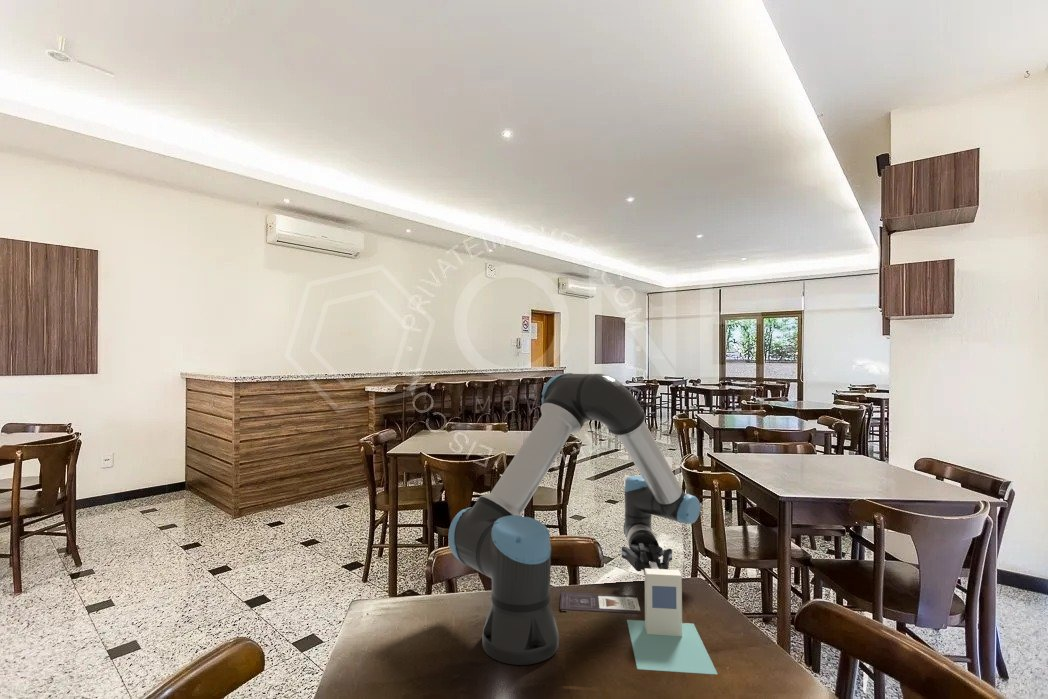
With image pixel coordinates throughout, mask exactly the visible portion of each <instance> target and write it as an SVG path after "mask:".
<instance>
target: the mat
mask: <svg viewBox="0 0 1048 699" xmlns="http://www.w3.org/2000/svg"><path fill="white" fill-rule="evenodd" d="M626 622H627V628H628V632H629V636H630V641H631V646H632V651H633V655H634V659H635V664H636V669H637V670H639V671H640V670H642V671H644V670H645V671H658V672H671V673H672V672H673V673H686V674H687V673H689V674H701V675H715V676H716V675H719V674H718V671H717V670H716V668H715V666H714V663H713V661H712V659H711V657H710V654H709V653H708V651H707V649H706V647H705V645H704V643H703V640H702V639H701V636H700V634H699V632H698V630H697V628H696V626H695V623H693V622H692V623H689V622H687V623H686V622H682V636H671V635H654V634H647V632H646V629H645V620H638V619H626Z"/></svg>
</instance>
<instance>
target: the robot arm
mask: <svg viewBox="0 0 1048 699" xmlns="http://www.w3.org/2000/svg"><path fill="white" fill-rule="evenodd" d="M630 391H631V390H629V389H628V388H627V387H626V386H625V385H624V384H622V383H621V382H620V381H618V380H617V379H616V378H614V377H612V376H609V375H608V374H603V373H572V372H571V373H570V372H568V373H562V374H557V375H554V376H552V377H551V378H550V379H549V380H548V381H546V383H545V384H544V386H543V389H542V392H541V395H542V397H541V405H540V413H541V416H540V418H539V419H538V421H537V422H536V424H535V425H534V426H533V428H532V430H531V431H530V433H529V434H528V436H527V438H526V439H525V440H524V441H523V444H522V445H521V446H520V447H519V449H518V450H517V451H516V454H515V455H514V456H513V458H512V460H511V461H510V463H509V464H508V466H507V467H506V469H505V470H504V472H503V473H502V475H501V476H500V478H499V479H498V481H497V482H496V483H495V485H494V487H493V488H492V490H491V491H490V493H488V494H483V495H479V498H478V499H477V500H476V502H475V503H474V505H473V506H472V507H467V508H465V509H461V510H460V511H458V512H457V514H455V516H454V517H453V518H452V520H451V522H450V526H449V527H448V528H449V529H448V537H447V538H448V547H449V549H450V552H451V553H452V555H453V556H454V557H455V558H456V559H457V560H459V561H460V563H462V564H463V565H464V566H465V567H469V568H472V569H473V570H475V571H477V572H479V573H481V574H482V575H484V576H486V577H488V578H489V579H491V604H490V608H489V609H488V613H487V617H486V620H485V623H484V626H483V630H482V632H481V633H482V638H481V639H482V640H481V641H482V643H481V644H482V645H481V646H482V649H483V651H484V652H485V653H486V655H488V656H489V657H490V658H492V659H493V660H496V661H497V662H500V663H504V664H507V665H515V666H524V665H525V666H527V665H533V664H539V663H542V662H544V661H547V660H548V659H550V658H552V657H553V656H554V655H555V654H556V653H557V652H558V649H559V645H560V642H559V641H560V636H559V634H560V633H559V632H560V631H559V628H558V626H557V625H558V624H557V621H556V619H555V616H554V612H553V609H552V605H551V567H552V566H551V564H552V563H551V561H552V559H551V558H552V545H551V537H550V535H551V534H550V532H549V528H548V527H547V526H546V525H545V524H544V523H542V522H541V521H540V520H537V519H535V518H533V517H529V516H522V514H523V512H524V510H525V509H526V507H527V505H528V504H529V502H530V501H531V499H532V497H533V495H534V494H535V493H536V491H537V490H538V488H539V485H541V483H542V481H543V480H544V477H545V476H546V475H547V473H548V471H550V470H549V469H550V468H551V467H552V465H553V463H554V462H555V460H556V458H557V456H559V454H560V452H561V450H562V449H563V447H564V445H565V444H566V442H567V440H568V439H569V437H570V435H572V434H578V433H580V431H581V429H582V428H583V426H584V424H585V423H586V422H587V421H597V422H600V423H602V424H603V425H605V426H606V427H607V429H608V430H609V432H610V433H611V434H612V435H614V436H617V437H618V439H619V440H620V442H621V444H622V445H623V447H624V449H625V450H626V452H627V454H628V456H629V457H630V459H631V460H632V462H633V464H634V465H635V468H636V469H637V470H638V472H639V474H640V475H631V476H627V477H626V479H625V481H624V482H625V483H624V484H625V485H624V492H623V493H624V522H623V533H624V536H625V539H626V540H627V543H628V546H629V547H627V546H626V547H625V546H621V558H622V559H624V560H626V561H627V563H628V564H630V566H631V567H633V569H634V570H635V571H637V572H642V571H643V575H644V576H645V568H648V569H669V567H670V566H669V565H670V562H671V561H672V560H673V549H671V548H667V549H663V548H662V546H660V545H659V542H658V540H657V538H656V536H655V535H654V532H653V530H652V529H653V528H652V516H655V517H660V518H663V519H668V520H670V521H673V522H676V523H682V524H688V525H691V524H695V523H696V521H697V520H698V518H699V516H700V513H701V512H700V511H701V504H700V503H701V502H700V501H699V499H698V497H696V496H695V495H692V494H690V493H685V492H684V489H683V488H682V486H681V485H680V482H679V481H678V479H677V477H676V475H675V474H674V472H673V469H672V468H671V466H670V464H669V463H668V460H666V457H665V455H664V454H663V452H662V450H661V448H660V447H659V445H658V443H657V441H656V439H655V437H654V436H653V434H652V433H651V431H650V429H649V427H648V425H647V424H646V422H645V421H646V413H645V411H644V409H643V408H642V406H641V404H640V403H639V401H638V400H637V399H636V397H635V396H634V395H633V393H632V392H630ZM661 557H662V561H661Z"/></svg>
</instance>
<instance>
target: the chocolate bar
mask: <svg viewBox="0 0 1048 699" xmlns="http://www.w3.org/2000/svg"><path fill="white" fill-rule="evenodd" d="M559 602H560V603H559V611H560V610H567V611H576V612H577V611H578V612H595V613H597V612H599V613H616V614H632V615H634V614H635V615H642V610H641V608H640V604H639V599H638V597H637V595H635V594H618V593H617V594H615V593H599V594H598V593H596V594H595V593H594V592H577V591H576V592H574V591H560V601H559Z"/></svg>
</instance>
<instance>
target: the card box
mask: <svg viewBox="0 0 1048 699" xmlns="http://www.w3.org/2000/svg"><path fill="white" fill-rule="evenodd" d="M682 580H683V579H682V574H681V572H680V570H679V569H669V568H668V569H648V568H645V575H644V621H645V629H646V632H647V634H654V635H671V636H682V623H683V589H682V588H683V585H682V583H683V582H682Z"/></svg>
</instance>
